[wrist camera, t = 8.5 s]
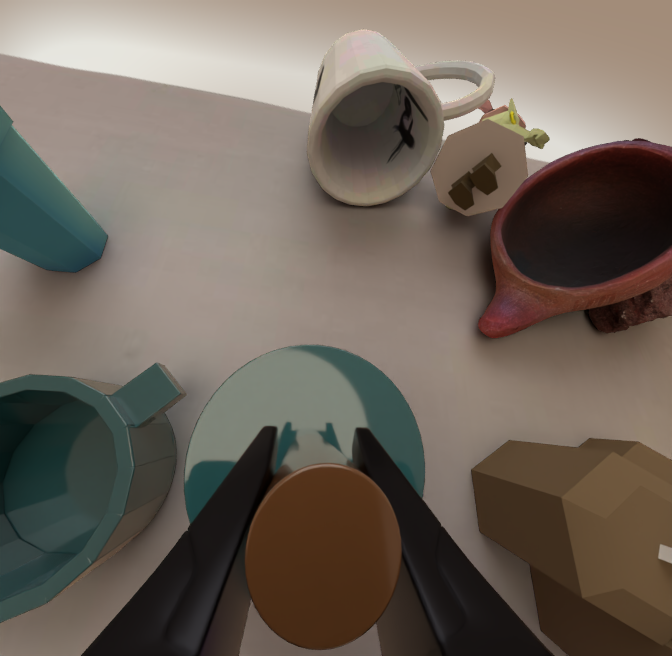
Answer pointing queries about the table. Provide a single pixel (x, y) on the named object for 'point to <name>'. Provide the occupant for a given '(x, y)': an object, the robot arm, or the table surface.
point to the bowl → (582, 235)
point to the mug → (381, 117)
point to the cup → (42, 210)
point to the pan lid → (312, 488)
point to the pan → (77, 476)
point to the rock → (634, 309)
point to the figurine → (485, 161)
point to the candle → (587, 539)
